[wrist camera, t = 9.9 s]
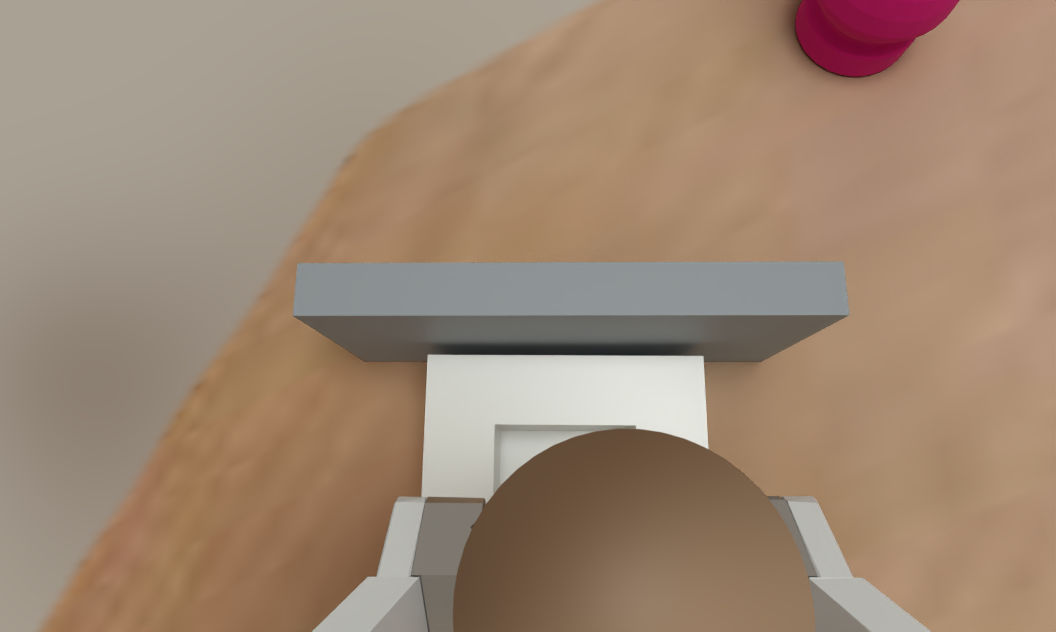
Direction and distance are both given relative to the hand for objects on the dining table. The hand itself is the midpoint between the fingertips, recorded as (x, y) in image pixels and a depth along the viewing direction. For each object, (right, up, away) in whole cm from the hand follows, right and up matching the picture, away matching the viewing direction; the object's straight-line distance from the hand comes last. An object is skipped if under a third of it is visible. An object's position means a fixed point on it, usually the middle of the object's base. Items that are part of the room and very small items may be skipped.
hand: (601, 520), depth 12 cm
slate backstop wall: (0, +2, +22) cm, 23 cm away
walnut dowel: (0, -2, +6) cm, 6 cm away
